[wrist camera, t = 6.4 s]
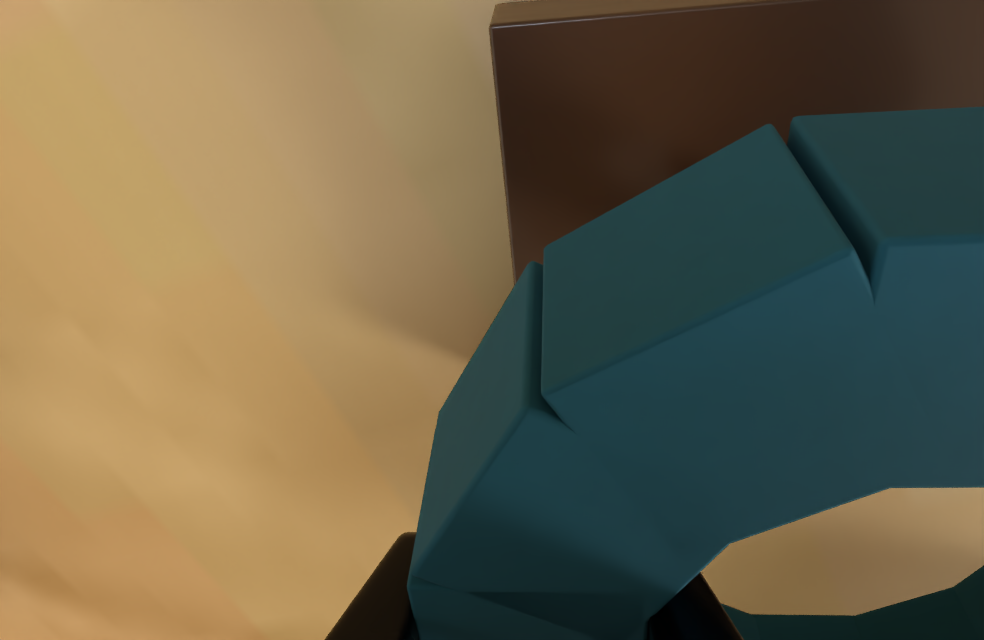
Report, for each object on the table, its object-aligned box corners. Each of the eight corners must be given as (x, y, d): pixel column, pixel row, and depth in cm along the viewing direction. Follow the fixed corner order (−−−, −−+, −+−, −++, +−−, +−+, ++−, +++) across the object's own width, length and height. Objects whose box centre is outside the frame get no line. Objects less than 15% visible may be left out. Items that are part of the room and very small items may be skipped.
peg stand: (530, 391, 19) (519, 633, 13) (494, 3, 14) (452, 143, 8) (920, 379, 18) (1076, 637, 12) (1040, -47, 12) (1395, 79, 7)
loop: (478, 694, 13) (465, 855, 11) (389, 134, 7) (329, 258, 5) (1106, 708, 12) (1214, 887, 10) (1557, 75, 6) (1999, 201, 4)
